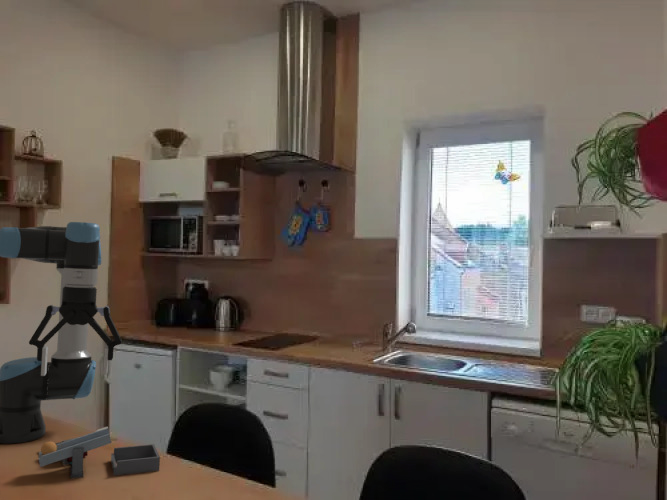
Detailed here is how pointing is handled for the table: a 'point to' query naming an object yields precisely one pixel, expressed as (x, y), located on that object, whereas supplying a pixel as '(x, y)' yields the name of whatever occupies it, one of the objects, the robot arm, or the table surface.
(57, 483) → the table surface
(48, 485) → the table surface
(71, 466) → the stand
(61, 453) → the rimmed blue-grey trough
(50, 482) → the table surface
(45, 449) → the ball
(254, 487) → the table surface
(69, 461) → the toy
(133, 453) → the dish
